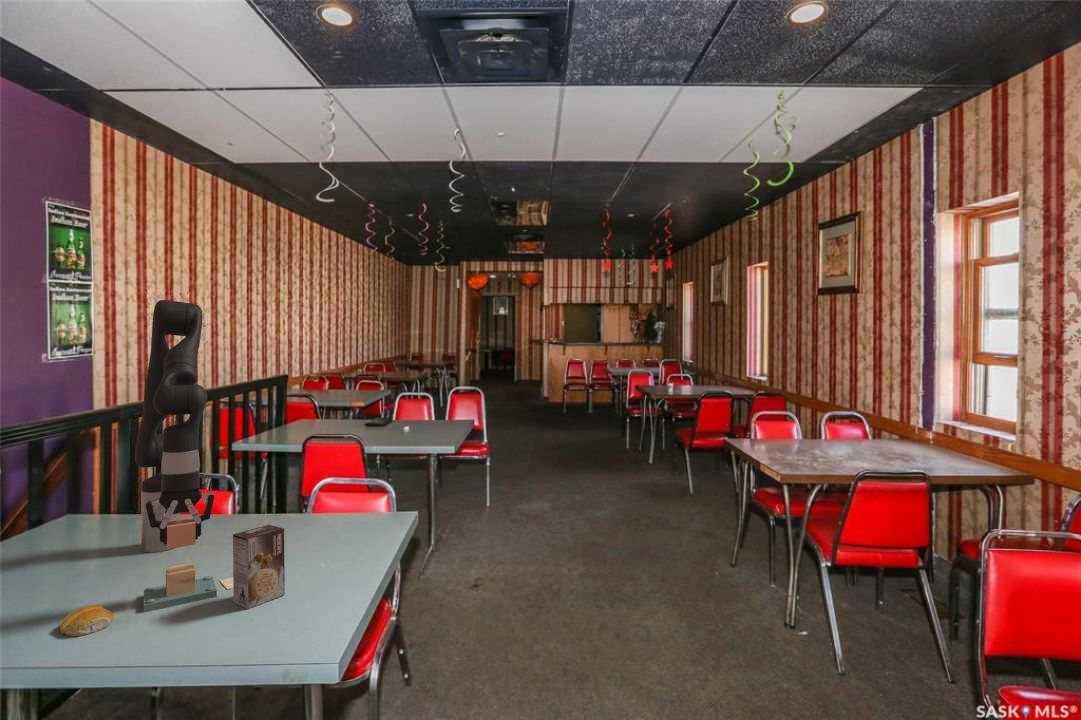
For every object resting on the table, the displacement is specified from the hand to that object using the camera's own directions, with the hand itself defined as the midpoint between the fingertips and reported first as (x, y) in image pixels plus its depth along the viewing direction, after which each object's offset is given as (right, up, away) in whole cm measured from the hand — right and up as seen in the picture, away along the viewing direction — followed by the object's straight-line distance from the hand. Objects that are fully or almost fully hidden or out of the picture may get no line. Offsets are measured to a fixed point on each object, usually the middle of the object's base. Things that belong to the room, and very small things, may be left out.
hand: (180, 540), depth 131 cm
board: (0, -13, 0) cm, 13 cm away
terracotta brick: (0, -1, 0) cm, 1 cm away
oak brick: (0, -12, 0) cm, 12 cm away
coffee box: (+19, -14, -1) cm, 23 cm away
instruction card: (+10, -13, +10) cm, 19 cm away
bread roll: (-10, -14, -15) cm, 22 cm away
